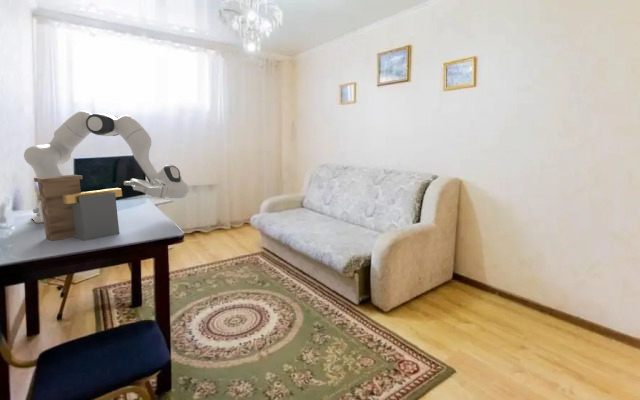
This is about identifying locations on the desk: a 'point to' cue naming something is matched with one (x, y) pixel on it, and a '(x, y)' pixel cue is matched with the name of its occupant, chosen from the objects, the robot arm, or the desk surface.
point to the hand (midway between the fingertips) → (128, 185)
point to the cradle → (95, 216)
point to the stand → (58, 204)
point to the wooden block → (75, 196)
